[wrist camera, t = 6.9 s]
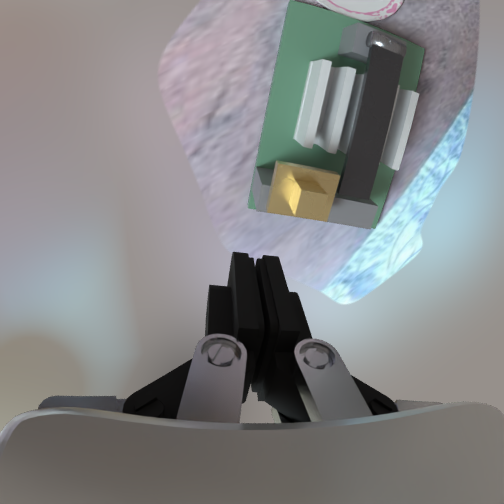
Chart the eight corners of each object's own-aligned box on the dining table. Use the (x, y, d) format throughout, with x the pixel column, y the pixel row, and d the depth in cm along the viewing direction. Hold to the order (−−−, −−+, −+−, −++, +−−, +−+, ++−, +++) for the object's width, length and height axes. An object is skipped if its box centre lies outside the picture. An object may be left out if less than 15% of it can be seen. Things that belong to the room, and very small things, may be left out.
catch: (276, 160, 23) (283, 172, 20) (336, 172, 24) (351, 185, 21) (265, 207, 25) (271, 225, 22) (323, 216, 26) (335, 235, 23)
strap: (367, 32, 20) (375, 29, 19) (398, 45, 21) (407, 43, 19) (332, 188, 27) (338, 194, 26) (363, 195, 28) (370, 201, 26)
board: (288, 2, 23) (303, -17, 17) (419, 49, 25) (456, 48, 19) (247, 204, 33) (252, 232, 28) (371, 224, 36) (395, 253, 30)
